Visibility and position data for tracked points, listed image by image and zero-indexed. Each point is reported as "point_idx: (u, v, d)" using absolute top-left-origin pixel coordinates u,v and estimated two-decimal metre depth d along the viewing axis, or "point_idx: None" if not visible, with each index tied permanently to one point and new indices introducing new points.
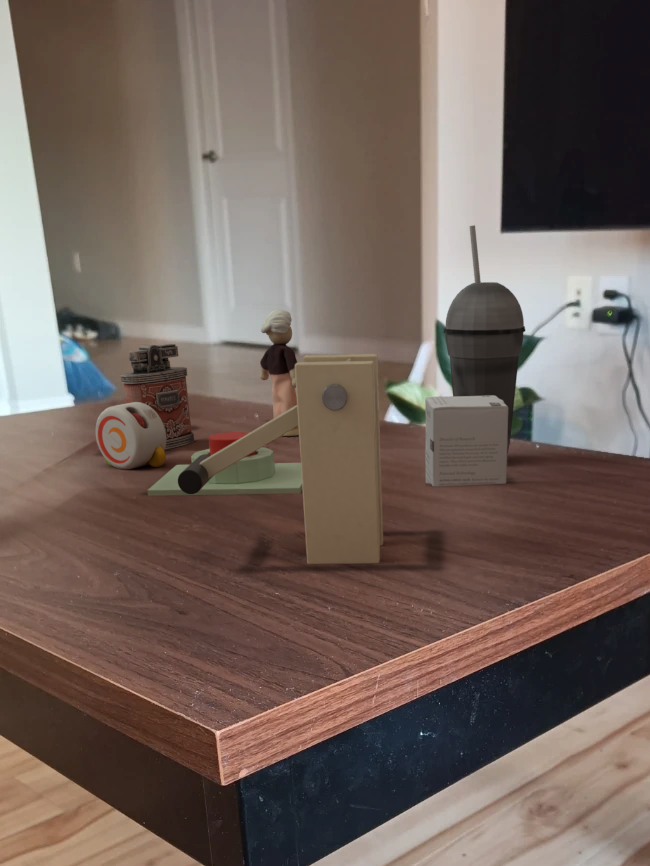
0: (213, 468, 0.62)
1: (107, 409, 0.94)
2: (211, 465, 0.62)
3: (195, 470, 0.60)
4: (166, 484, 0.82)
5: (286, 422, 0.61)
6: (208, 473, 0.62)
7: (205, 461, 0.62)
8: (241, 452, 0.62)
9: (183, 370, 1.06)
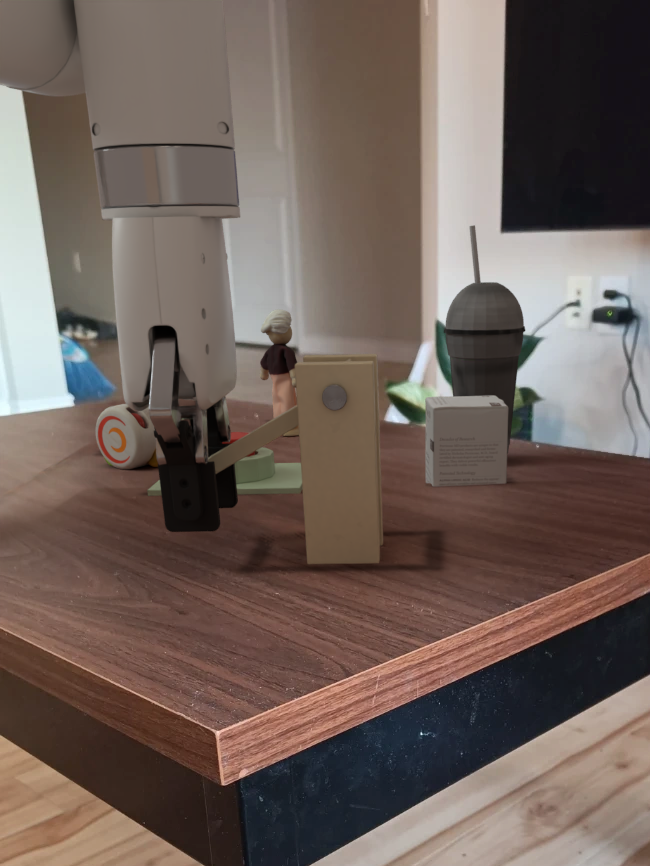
0: None
1: (107, 409, 0.94)
2: None
3: None
4: None
5: (286, 422, 0.61)
6: None
7: None
8: (241, 452, 0.62)
9: None
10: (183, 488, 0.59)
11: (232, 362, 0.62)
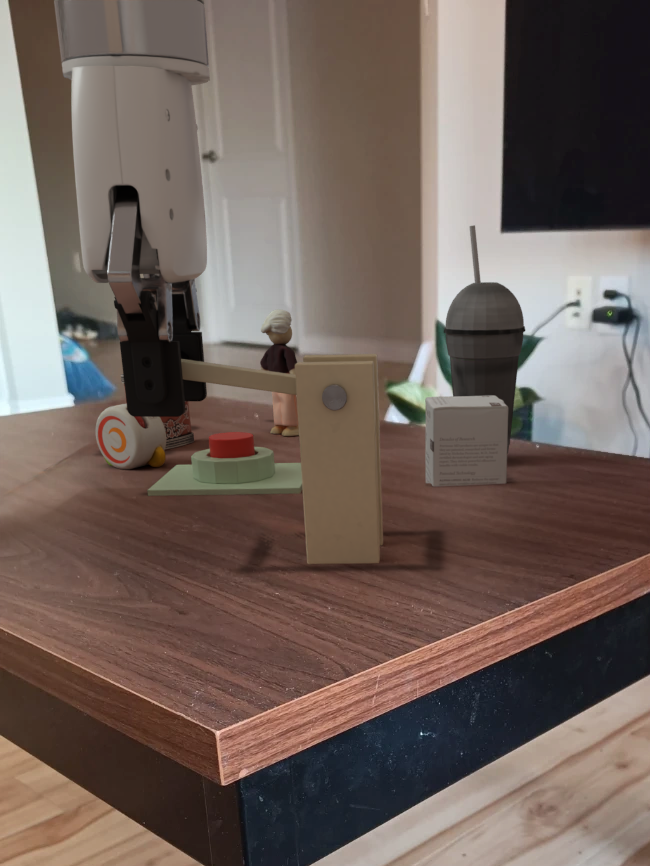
0: (186, 373, 0.60)
1: (107, 409, 0.94)
2: (186, 369, 0.60)
3: None
4: (166, 484, 0.82)
5: (277, 383, 0.60)
6: None
7: (183, 362, 0.60)
8: (220, 379, 0.60)
9: None
10: (146, 367, 0.56)
11: (201, 242, 0.59)
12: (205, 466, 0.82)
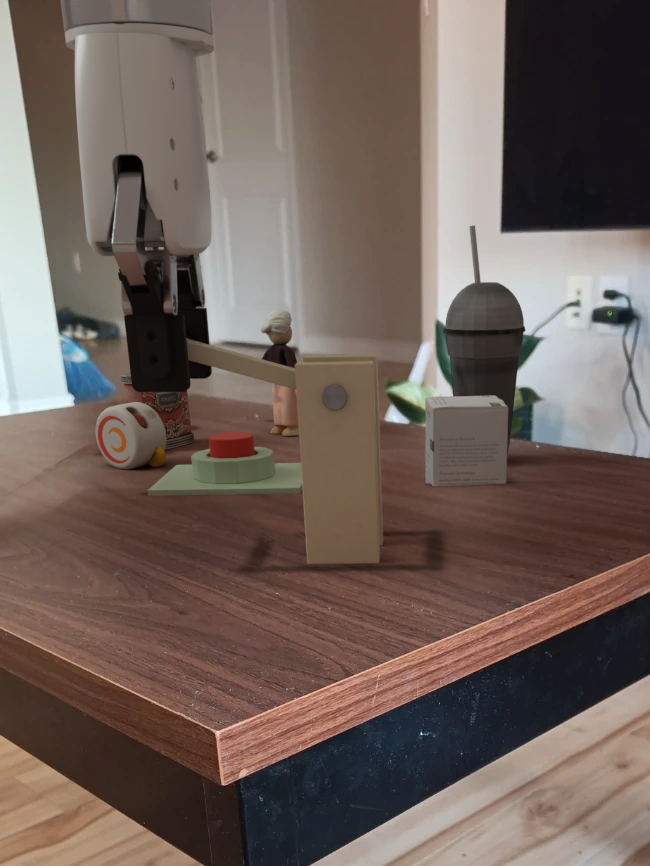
0: (188, 353, 0.59)
1: (107, 409, 0.94)
2: (188, 349, 0.59)
3: None
4: (166, 484, 0.82)
5: (278, 375, 0.60)
6: None
7: None
8: (222, 363, 0.59)
9: None
10: (151, 341, 0.56)
11: (206, 216, 0.59)
12: (205, 466, 0.82)
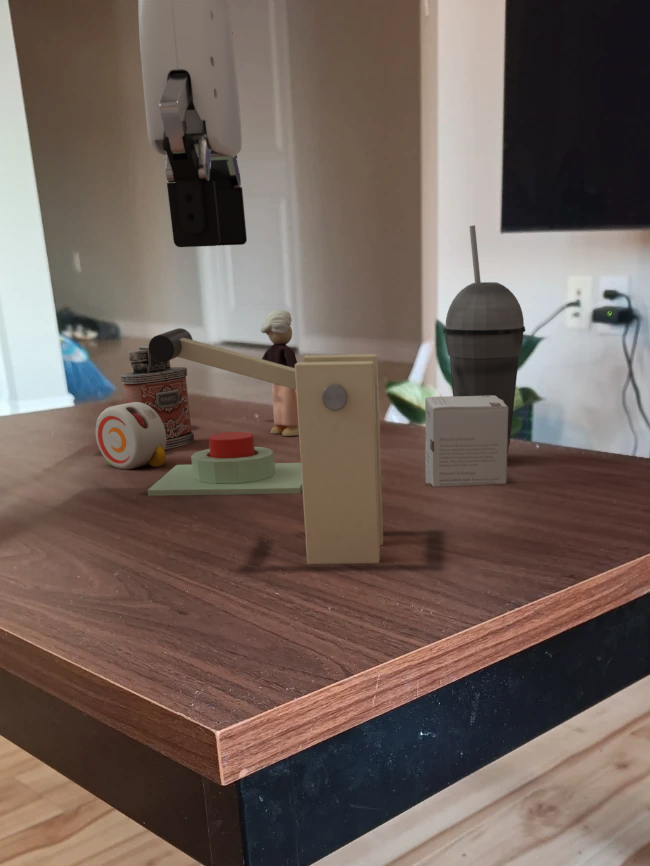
0: (188, 353, 0.59)
1: (107, 409, 0.94)
2: (188, 349, 0.59)
3: (174, 344, 0.58)
4: (166, 484, 0.82)
5: (278, 375, 0.60)
6: (181, 353, 0.59)
7: (186, 342, 0.59)
8: (222, 363, 0.59)
9: (183, 370, 1.06)
10: (188, 202, 0.70)
11: (237, 125, 0.75)
12: (205, 466, 0.82)
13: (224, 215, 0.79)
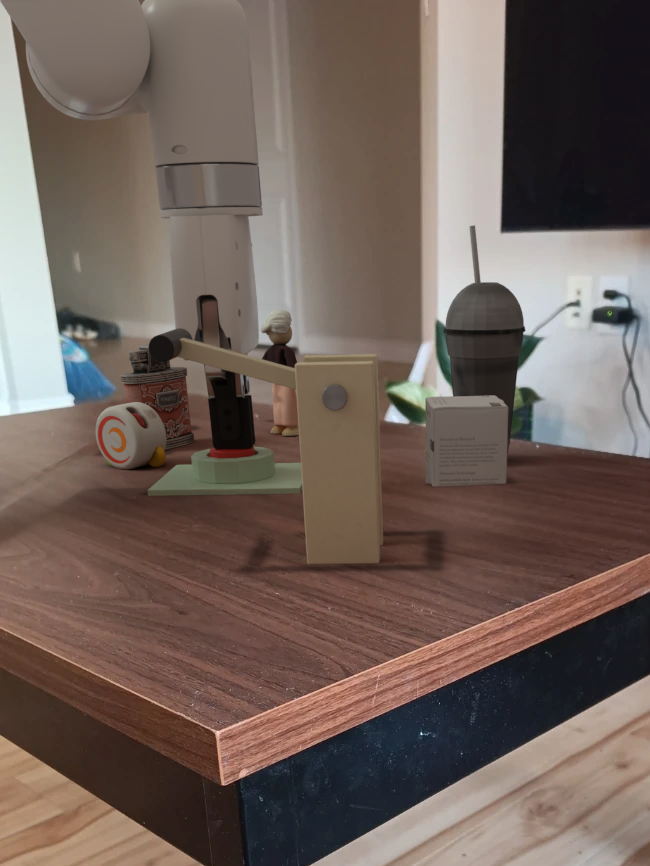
0: (188, 353, 0.59)
1: (107, 409, 0.94)
2: (188, 349, 0.59)
3: (174, 344, 0.58)
4: (166, 484, 0.82)
5: (278, 375, 0.60)
6: (181, 353, 0.59)
7: (186, 342, 0.59)
8: (222, 363, 0.59)
9: (183, 370, 1.06)
10: (227, 416, 0.81)
11: (256, 325, 0.82)
12: (205, 466, 0.82)
13: None
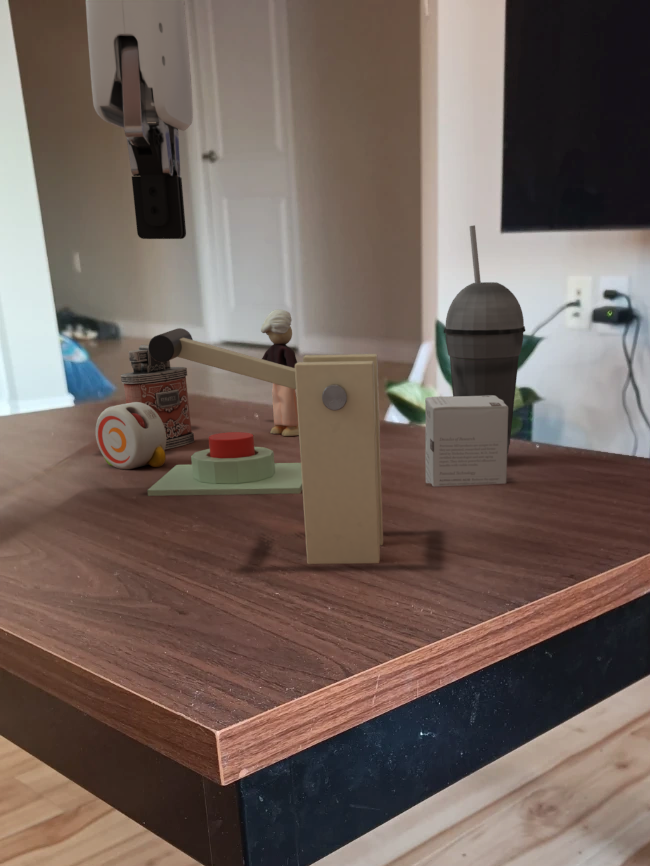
0: (188, 353, 0.59)
1: (107, 409, 0.94)
2: (188, 349, 0.59)
3: (174, 344, 0.58)
4: (166, 484, 0.82)
5: (278, 375, 0.60)
6: (181, 353, 0.59)
7: (186, 342, 0.59)
8: (222, 363, 0.59)
9: (183, 370, 1.06)
10: (152, 196, 0.72)
11: (188, 97, 0.73)
12: (205, 466, 0.82)
13: None
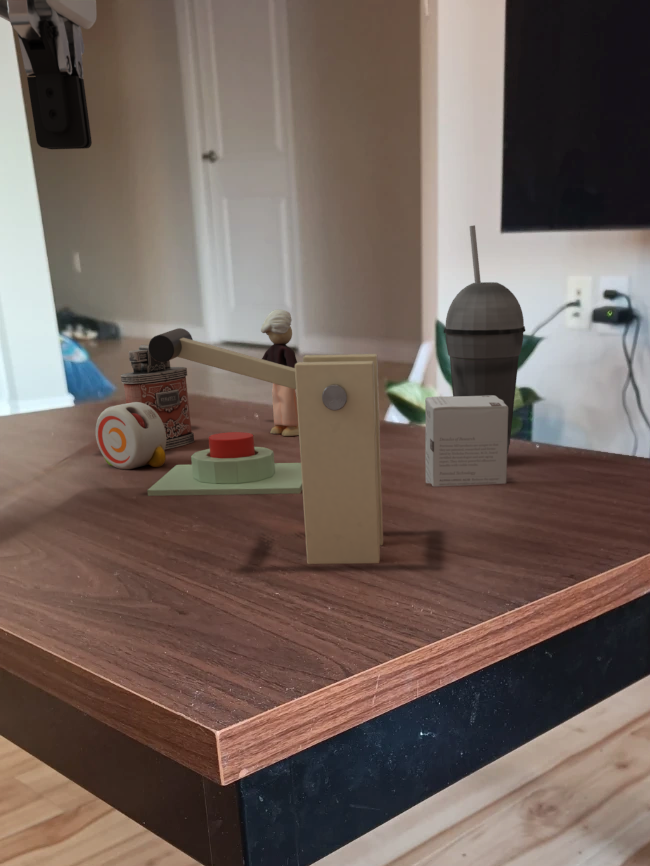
0: (188, 353, 0.59)
1: (107, 409, 0.94)
2: (188, 349, 0.59)
3: (174, 344, 0.58)
4: (166, 484, 0.82)
5: (278, 375, 0.60)
6: (181, 353, 0.59)
7: (186, 342, 0.59)
8: (222, 363, 0.59)
9: (183, 370, 1.06)
10: (50, 98, 0.66)
11: None
12: (205, 466, 0.82)
13: None
